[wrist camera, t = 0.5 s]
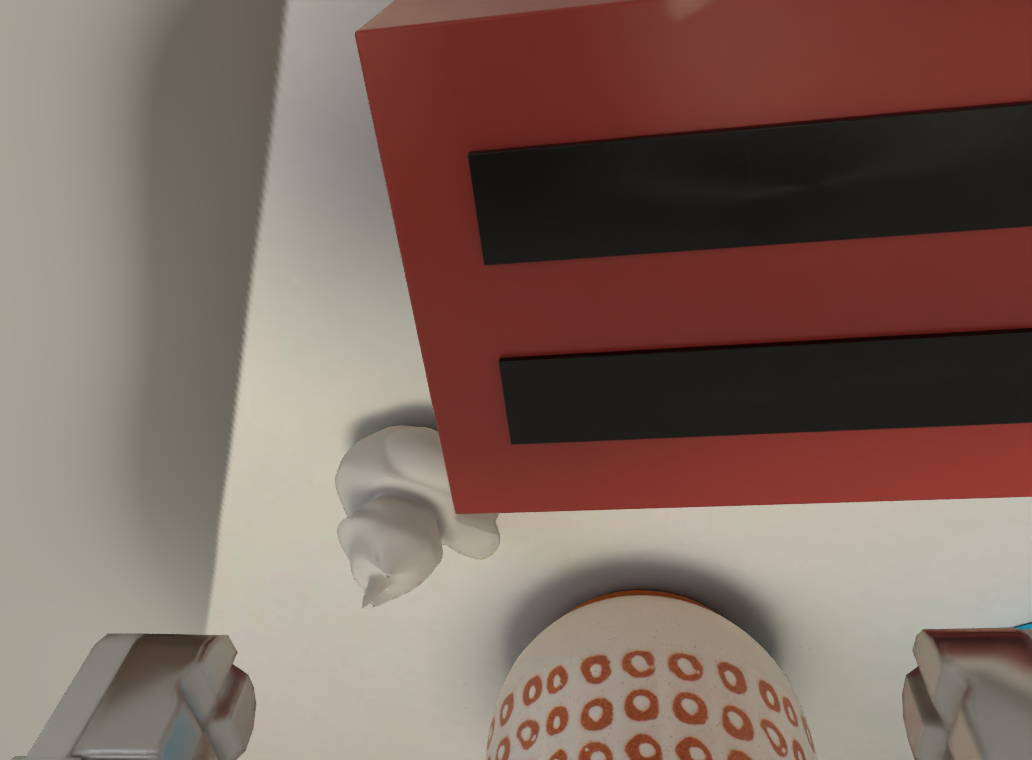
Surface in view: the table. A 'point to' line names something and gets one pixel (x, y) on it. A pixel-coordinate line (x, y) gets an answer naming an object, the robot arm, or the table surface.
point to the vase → (646, 688)
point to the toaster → (714, 246)
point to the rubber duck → (403, 512)
